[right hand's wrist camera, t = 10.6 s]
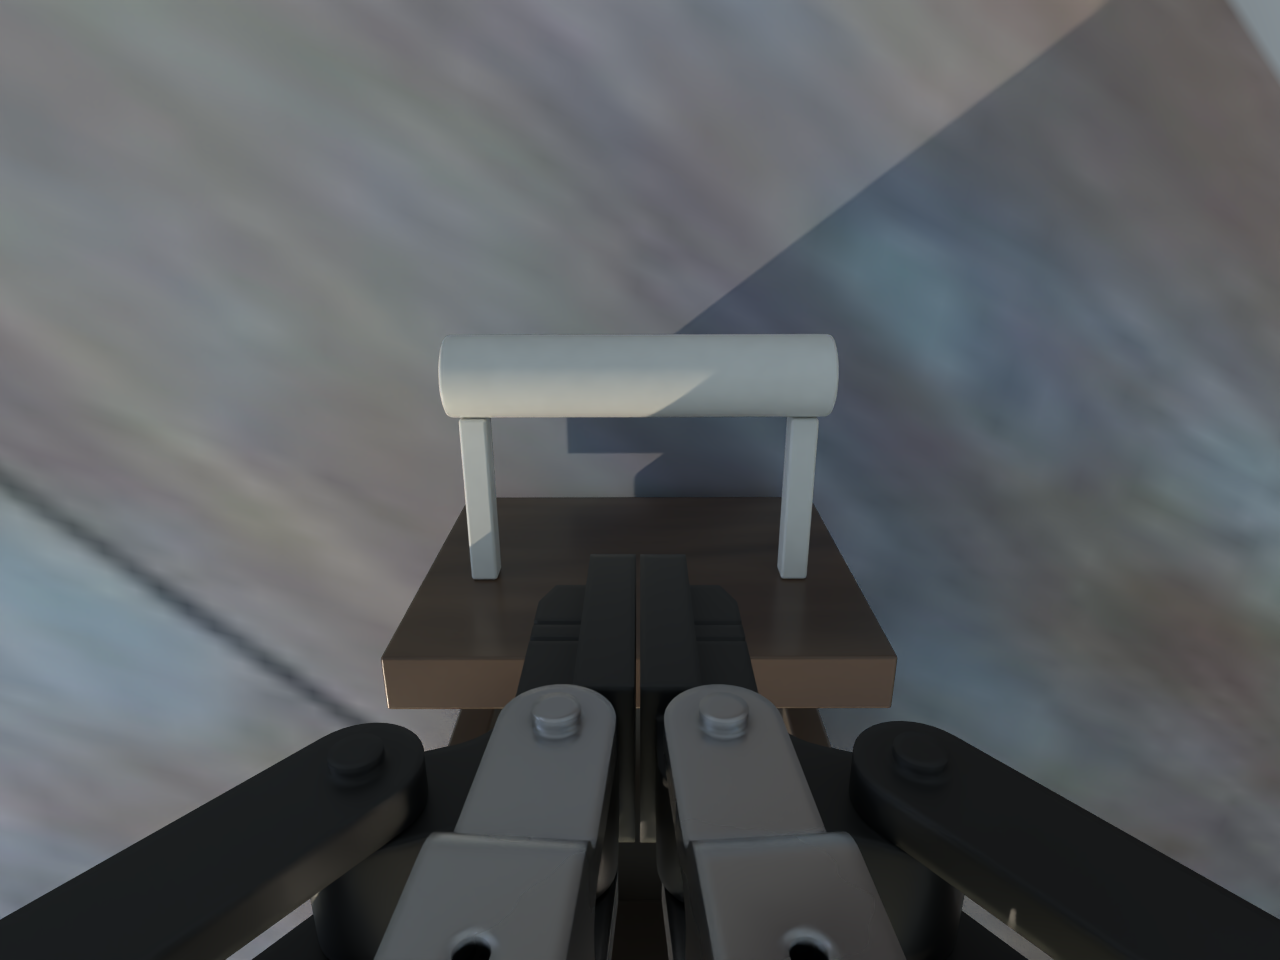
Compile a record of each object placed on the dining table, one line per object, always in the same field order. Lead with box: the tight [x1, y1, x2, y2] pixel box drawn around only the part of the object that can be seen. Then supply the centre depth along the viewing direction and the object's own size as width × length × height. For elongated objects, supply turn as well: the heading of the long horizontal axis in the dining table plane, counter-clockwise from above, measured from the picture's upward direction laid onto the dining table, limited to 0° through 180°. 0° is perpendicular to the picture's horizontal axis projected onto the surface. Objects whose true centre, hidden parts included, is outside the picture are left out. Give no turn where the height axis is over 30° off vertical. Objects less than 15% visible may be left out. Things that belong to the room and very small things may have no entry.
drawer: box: [381, 334, 897, 960], centre depth 21 cm, size 21×10×8 cm, turn 0°
